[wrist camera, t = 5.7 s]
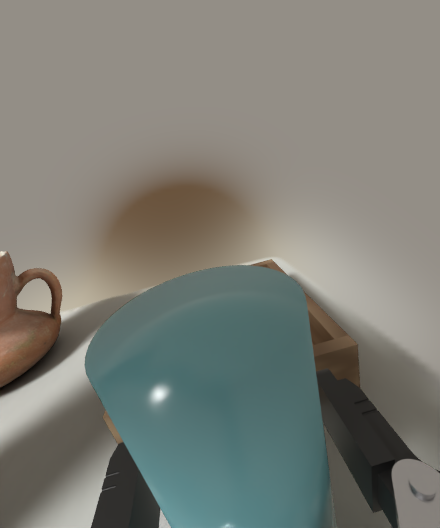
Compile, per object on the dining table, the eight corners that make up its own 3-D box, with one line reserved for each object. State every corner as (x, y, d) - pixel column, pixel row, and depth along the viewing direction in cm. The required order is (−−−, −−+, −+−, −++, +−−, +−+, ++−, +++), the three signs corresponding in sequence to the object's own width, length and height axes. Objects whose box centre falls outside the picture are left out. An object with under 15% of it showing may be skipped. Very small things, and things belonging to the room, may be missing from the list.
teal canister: (234, 716, 8) (28, 446, 4) (217, 519, 13) (120, 292, 8) (379, 668, 9) (366, 349, 4) (310, 491, 14) (266, 252, 9)
